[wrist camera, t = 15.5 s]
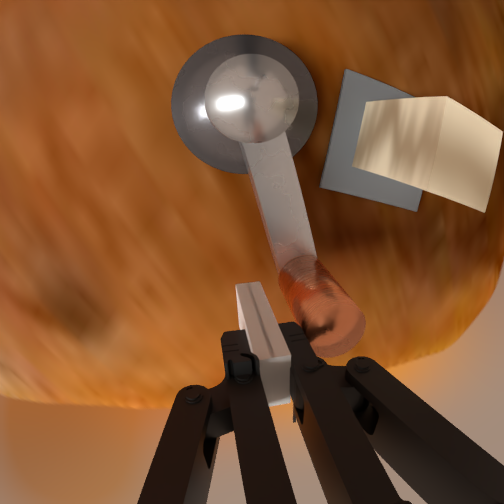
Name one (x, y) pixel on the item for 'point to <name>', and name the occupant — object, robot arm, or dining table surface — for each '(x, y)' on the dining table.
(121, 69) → the dining table surface
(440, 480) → the robot arm
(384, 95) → the pad
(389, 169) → the block
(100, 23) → the dining table surface
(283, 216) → the crank
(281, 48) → the crank base
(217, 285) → the dining table surface
